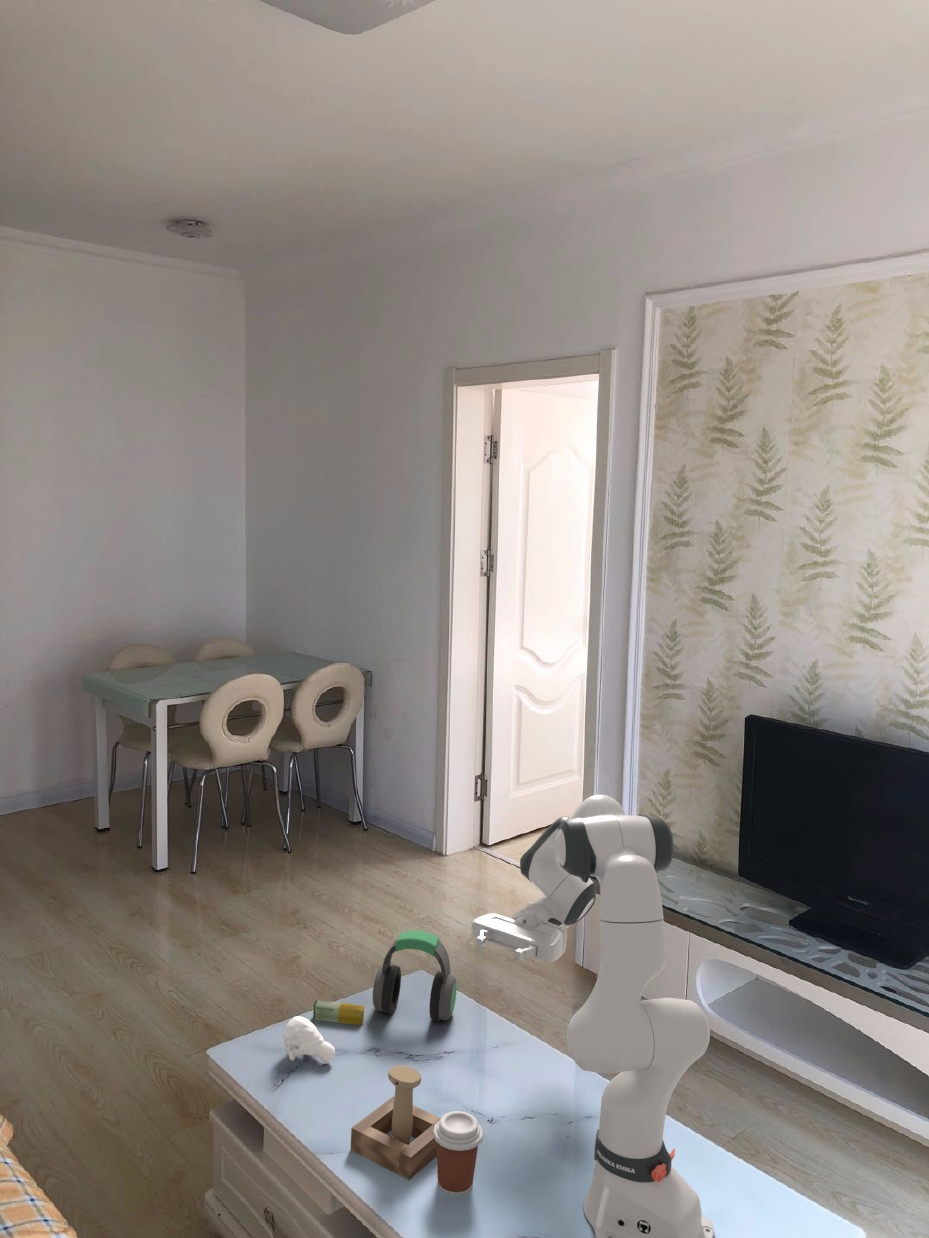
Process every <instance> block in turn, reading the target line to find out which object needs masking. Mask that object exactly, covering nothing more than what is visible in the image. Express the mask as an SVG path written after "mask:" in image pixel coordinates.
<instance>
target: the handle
mask: <svg viewBox="0 0 929 1238" xmlns="http://www.w3.org/2000/svg"><path fill="white" fill-rule="evenodd" d="M387 1074H388V1080H389V1081H390V1083H391V1084H392V1085H393V1086H395V1088H394V1089H395V1090H394V1097H395V1098H394V1107H393V1115H392V1131H391V1137H392V1138H394V1139H396V1140H398V1141H400V1142H402V1143H405V1144H407V1145H409V1144H410V1143H411V1140H412V1139H411V1138H412V1136H411V1134H412V1126H413V1106H414V1104H413V1101H414V1100H413V1099H414V1095H413V1094H414V1093H413V1092H414V1089H415V1088H416V1087H419V1086H420V1085H421V1082H422V1074H421V1073H420V1072H419V1071H418V1070H417V1069H415V1068H413V1067H411V1066H407V1065H403V1064H397V1065H394V1066H392V1067H391V1068H389V1069H388V1073H387Z"/></svg>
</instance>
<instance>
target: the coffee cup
mask: <svg viewBox="0 0 929 1238" xmlns="http://www.w3.org/2000/svg"><path fill="white" fill-rule="evenodd" d="M439 1118H440V1120H439V1121H438V1122H437V1123H436V1124H435V1126H434V1130H433V1136H434V1139H435V1141H436V1142H437V1157H436V1161H437V1162H436V1165H437V1168H436V1169H437V1171H436V1173H437V1185H438V1188H439V1189H440V1191H442V1193H445V1194H446V1195H449V1196H456V1197H457V1196H463V1195H466V1194H469V1192H470V1191H471V1190H472V1189H473V1184H474V1175H475V1171H476V1162H477V1155H478V1149H479V1145H480V1144H481V1143H482V1142H483V1139H484V1130H483V1128H482V1125H481V1124H479V1121H478V1120H477V1118H476V1117H475V1116H474V1115H472V1114H471V1113H469V1112H466V1111H459V1110H455V1111H454V1110H453V1111H449V1112H447V1113H444V1114H443V1115H442V1116H441V1117H439Z"/></svg>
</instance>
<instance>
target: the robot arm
mask: <svg viewBox="0 0 929 1238" xmlns="http://www.w3.org/2000/svg"><path fill="white" fill-rule="evenodd" d="M674 843H675V842H674V838H673V833H672V829H671V828H670V825H669V824H668V822H665V820H664V819H663V818H661V817H657V816H653V815H649V814H638V815H635V814H634V815H632V814H631V815H629V814H626V815H625V811H624V808H623V807H622V805H621V804H620V803H619V801H617V800H616V799H614V798H613V797H611V796H609V795H606V794H594V795H591V796H589V797H586V799H584V800H583V801H582V802H581V803H580V804H579V805H578V806H577V808H576V809H575V811H574V812H573V813H572V815H571V817H570V816H567V815H563V816H560V817H559V818H557V819H556V820H555V821H554V822H552V823H551V824H550V825H549V826H548V827H547V828H546V829H545V830H544V832H543V833H542V834H541V835H540V836H539V837H538V838H537V840H535V842H533V843H532V844H531V845H529V847H527V848H526V850H525V851H523V853H522V855H521V857H520V858H519V868H520V873H521V875H522V876H523V877H524V878H526V879H527V880H528V882H530V883H532V884H533V885H534V886H535V888H536V889H538V890H539V891H540V892H541V894H542V895H544V896H541V897H539V898H538V899H536V900H535V901H534V903H531V904H528V905H526V906H524V907H523V908H522V909H519V910H518V911H516V912H515V913H514V914H513V915H512V918H511V917H510V916H509V917H508V916H506V915H502V914H501V913H500V914H499V913H494V912H490V913H486V914H483V915H481V916H478V917H475V918H474V919H472V922H471V926H470V927H471V936H472V937H473V938H475V946H477V947H481V948H483V947H485V946H486V944H487V943H490V944H492V945H496V946H499V947H502V948H503V949H507V950H510V951H513V952H514V957H513V958H514V960H517V961H523V960H525V959H526V960H527V959H535V960H540V961H542V962H544V963H555V962H556V961H557V960H559V959H560V958H561V957H562V955H564V954H566V953H565V952H566V948H567V939H568V937H567V936H568V930H567V929H568V928H570V926H573V925H575V924H576V923H578V922H579V921H581V920H582V919H583V918H584V917H585V916H586V915H587V914H589V912H590V910H591V909H592V907H593V906H594V905H595V902H596V899H597V898H596V897H597V896H596V895H597V890H596V889H597V888H596V884H595V882H594V881H593V880H592V879H591V878H590V876H593V877H594V878H596V880H597V881H598V884H599V892H600V893H599V896H600V897H599V919H600V920H599V921H600V936H601V937H600V939H601V940H600V942H601V943H600V944H601V945H600V947H601V948H600V965H599V966H600V967H599V972H598V976H597V978H596V979H597V980H596V982H595V985H594V987H593V989H592V992H591V993H590V995H589V997H588V998H587V999H586V1001H585V1003H584V1004H583V1005H582V1006H581V1007H580V1008H579V1009H578V1010H577V1011H576V1012H575V1013H574V1015H573V1016H572V1017H571V1018H570V1021H569V1024H568V1027H567V1030H566V1031H567V1032H566V1043H567V1047H568V1051H569V1054H570V1056H571V1058H572V1059H573V1061H574V1063H575V1064H576V1065H577V1066H578V1067H579V1068H580V1069H581V1070H582V1071H585V1072H590V1073H600V1074H617V1073H618V1074H617V1075H616V1076H615V1077H613V1078H612V1079H611V1080H610V1081H609V1082H608V1083H607V1084H606V1086H605V1087H604V1089H603V1092H602V1095H601V1102H600V1113H599V1123H598V1124H599V1125H598V1129H597V1131H596V1134H595V1140H594V1141H595V1142H594V1153H593V1154H594V1157H593V1158H594V1159H593V1160H594V1168H593V1174H592V1177H591V1182H590V1186H589V1189H588V1192H587V1194H586V1197H585V1198H584V1202H583V1211H584V1215H585V1217H586V1219H587V1220H588V1222H589V1224H590V1225H591V1227H592V1228H593V1230H594V1237H595V1238H713V1236H714V1233H715V1232H714V1231H715V1230H714V1225H713V1222H712V1220H711V1219H709V1218H708V1217H707V1216H705V1215H704V1214H702V1205H701V1201H700V1197H699V1195H698V1193H697V1192H696V1191H695V1189H693V1188H692V1187H691V1185H690V1184H689V1183H688V1182H687V1181H686V1180H685V1179H684V1178H683V1176H682V1175H681V1174H680V1173H679V1172H678V1171H677V1170H676V1169H675V1168H674V1167H673V1165H672V1160H673V1159H675V1155H676V1149H675V1148H673V1149H672V1150H671V1152H670V1153H669V1152H668V1149H667V1147H666V1145H665V1141H664V1138H663V1137H664V1132H665V1131H664V1129H665V1123H666V1122H665V1121H666V1116H667V1115H666V1114H667V1108H668V1105H669V1101H670V1099H671V1096H672V1094H673V1092H674V1090H675V1089H676V1086H677V1084H678V1083H679V1081H680V1080H681V1078H682V1076H683V1075H684V1074H685V1072H686V1071H688V1069H689V1068H690V1067H691V1066H692V1065H693V1064H694V1063H695V1062H696V1061H697V1060H699V1059H700V1058H701V1057H703V1056H704V1055H705V1053H706V1051H707V1050H708V1049H707V1048H708V1046H709V1044H710V1037H711V1036H710V1035H711V1032H710V1026H709V1021H708V1019H707V1016H706V1014H705V1012H704V1011H703V1010H702V1008H701V1007H700V1006H699V1005H698V1004H697V1003H696V1002H695V1001H694V1000H690V999H682V998H675V997H660V998H652V999H643V1000H642V999H641V998H642V994H643V992H644V990H645V988H646V987H647V985H648V983H649V982H650V981H651V980H652V979H654V978H655V977H657V976H658V975H659V974H660V973H661V972H662V971H663V970H664V967H665V965H666V962H667V961H666V960H667V954H666V953H667V952H666V948H667V947H666V938H665V937H666V936H665V935H666V934H665V924H664V923H665V919H664V909H663V902H662V895H661V889H660V884H659V880H658V877H657V873H659V872H662V871H664V870H666V869H668V868H669V866H670V865H671V863H672V861H673V859H674V854H675V853H674V852H675V851H674V848H675V847H674V846H675V844H674Z"/></svg>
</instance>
